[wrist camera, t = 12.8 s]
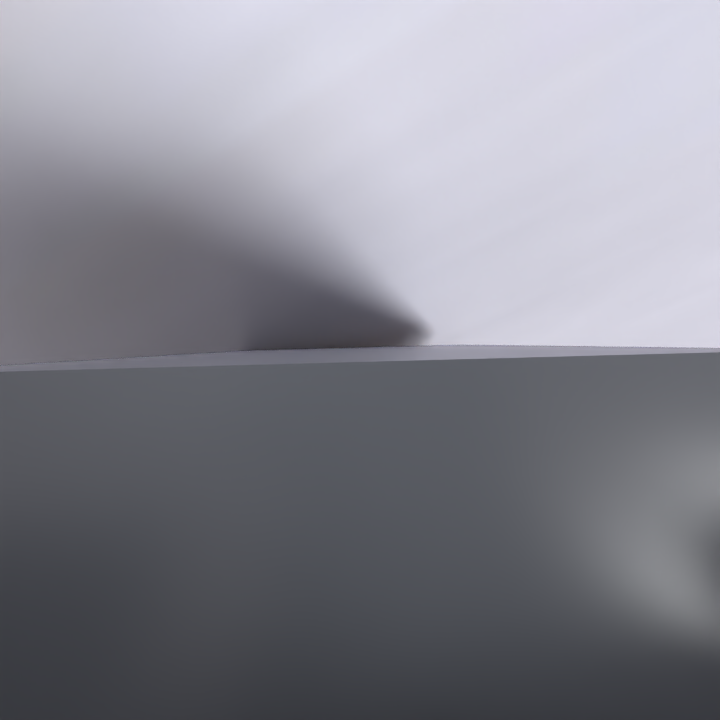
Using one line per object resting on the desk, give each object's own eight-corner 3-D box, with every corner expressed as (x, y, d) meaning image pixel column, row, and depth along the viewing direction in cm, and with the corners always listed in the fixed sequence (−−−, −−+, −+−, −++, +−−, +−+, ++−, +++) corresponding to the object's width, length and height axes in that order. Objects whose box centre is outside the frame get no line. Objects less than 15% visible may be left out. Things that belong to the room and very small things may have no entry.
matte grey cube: (460, 552, 12) (780, 1213, 3) (253, 558, 12) (-85, 1239, 3) (458, 344, 11) (825, 349, 2) (243, 350, 11) (-187, 377, 2)
